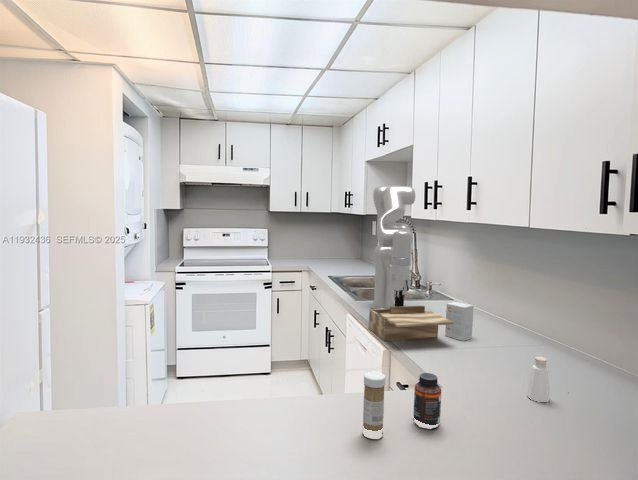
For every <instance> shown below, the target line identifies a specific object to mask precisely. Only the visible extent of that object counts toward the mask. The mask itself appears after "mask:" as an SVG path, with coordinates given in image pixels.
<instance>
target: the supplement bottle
mask: <svg viewBox="0 0 638 480" xmlns="http://www.w3.org/2000/svg"><path fill="white" fill-rule="evenodd" d="M438 379H439V377H438V376H437V375H436V374H433V373H431V372H423V373H420V374H419V379H418V382H417V383H415V384H414V392H413V393H414V394H413V395H414V397H413V416H414V418H415V419H416V420H418V421H420V422H422V423H425V424H429V425H436V424H439V423H441V406H442V388H441V386H440V384H438ZM414 418H413V419H414Z"/></svg>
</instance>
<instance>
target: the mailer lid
mask: <svg viewBox="0 0 638 480" xmlns="http://www.w3.org/2000/svg"><path fill="white" fill-rule="evenodd" d="M379 315H380V316H381V317H383V318H384V319H386V320H387V321H389V322H390V323H392V324H393V325H395V326H396V327H409V326H430V325H438V326H446V325H451V324H453V322H452V321H450V320H448V319H446V317H443V316H441V315H440V314H438V313H436V312H434V311H432V310H426V306H425V305H409V306H406V305H404V306H399V307H390V313H379Z"/></svg>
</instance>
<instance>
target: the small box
mask: <svg viewBox="0 0 638 480" xmlns="http://www.w3.org/2000/svg"><path fill="white" fill-rule="evenodd" d="M445 311H446V312H445V313H446V314H445V318H446V319H448V320H450V321H452V322H453V324H451V325H445V332H444V335H445V337H448V338H452V339H455V340H459V341H461V342H462V341H463V342H465V341H467V340H470V339H472V338H473V326H474V323H473V321H474V320H473V319H474V305H473V304H467V303H465V302H458V301H453V302H447V303H446V310H445Z"/></svg>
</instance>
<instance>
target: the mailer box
mask: <svg viewBox="0 0 638 480" xmlns="http://www.w3.org/2000/svg"><path fill="white" fill-rule="evenodd" d="M379 313H390V309H372V308H370V309H369V317H368V318H369V319H368V329H369V330H370V331H371V332H372V333H374V335H376V336H377V337H379V338H380V339H381V340H382V341H383V342H392V341H393V342H394V341H395V342H396V341H397V342H398V341H412V340H413V341H414V340H415V341H416V340H429V339H431V340H432V339H438V338H439V337H438V336H439V325H430V326H409V327H396V326H395V325H393V324H392V323H390V322H389V321H387V320H386V319H384V318H383V317H381V316H380V315H379Z"/></svg>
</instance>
